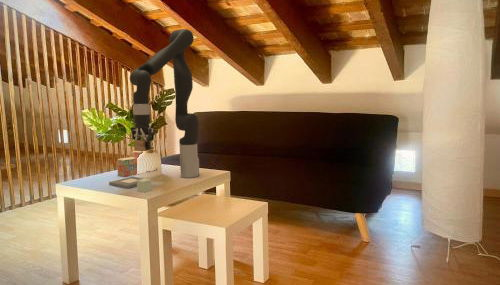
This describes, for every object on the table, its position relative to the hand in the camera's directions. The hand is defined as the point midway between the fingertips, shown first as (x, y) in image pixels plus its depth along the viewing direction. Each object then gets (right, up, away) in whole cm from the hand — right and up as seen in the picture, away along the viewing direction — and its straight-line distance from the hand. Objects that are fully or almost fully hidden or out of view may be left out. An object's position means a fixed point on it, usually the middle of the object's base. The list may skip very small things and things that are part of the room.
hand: (143, 149), depth 187 cm
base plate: (-8, -17, +6) cm, 20 cm away
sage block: (+3, -19, -7) cm, 20 cm away
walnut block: (0, -1, 0) cm, 1 cm away
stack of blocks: (-11, -14, +31) cm, 36 cm away
